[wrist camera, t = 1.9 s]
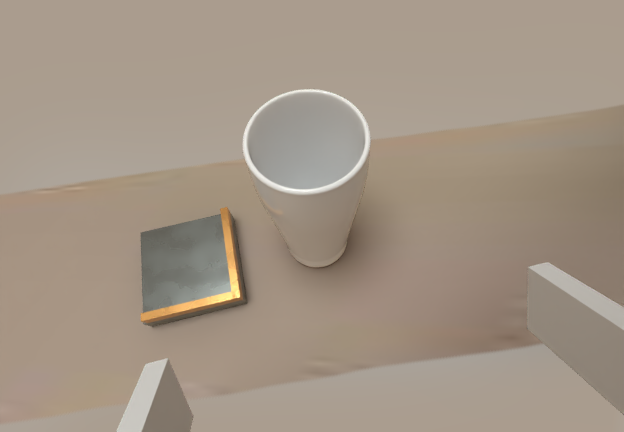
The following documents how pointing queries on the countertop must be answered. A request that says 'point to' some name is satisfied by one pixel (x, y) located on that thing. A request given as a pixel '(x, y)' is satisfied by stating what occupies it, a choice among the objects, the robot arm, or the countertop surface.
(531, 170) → the countertop surface
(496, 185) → the countertop surface
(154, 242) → the square coaster
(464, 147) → the countertop surface
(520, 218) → the countertop surface
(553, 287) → the robot arm
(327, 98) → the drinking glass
